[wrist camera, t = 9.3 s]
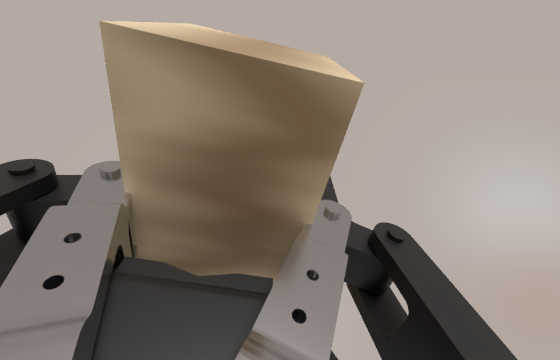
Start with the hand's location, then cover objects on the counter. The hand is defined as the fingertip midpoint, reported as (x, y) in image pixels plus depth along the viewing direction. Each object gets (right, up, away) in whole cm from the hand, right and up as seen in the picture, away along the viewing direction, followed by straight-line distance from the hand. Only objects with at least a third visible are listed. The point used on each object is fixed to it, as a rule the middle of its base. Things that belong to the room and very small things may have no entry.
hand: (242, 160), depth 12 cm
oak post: (-2, -8, +2) cm, 8 cm away
